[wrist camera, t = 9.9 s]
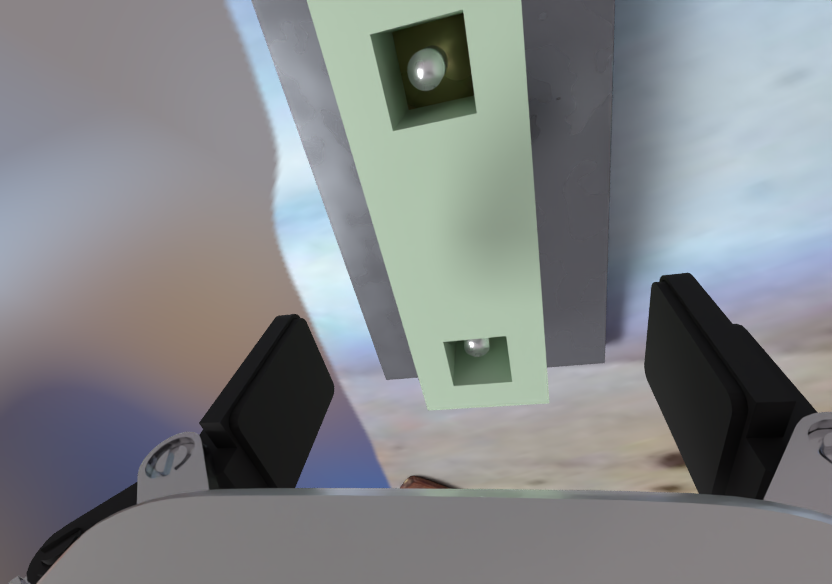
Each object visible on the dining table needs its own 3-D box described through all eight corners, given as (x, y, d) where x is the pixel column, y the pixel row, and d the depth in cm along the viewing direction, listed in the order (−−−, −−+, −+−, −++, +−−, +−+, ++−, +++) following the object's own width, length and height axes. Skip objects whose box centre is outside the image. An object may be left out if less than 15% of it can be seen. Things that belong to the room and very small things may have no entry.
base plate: (607, -193, 14) (683, -314, 9) (598, 346, 26) (627, 422, 21) (244, -65, 17) (148, -101, 12) (390, 364, 29) (372, 434, 24)
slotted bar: (505, -57, 14) (515, -82, 10) (538, 348, 23) (549, 403, 20) (339, -7, 15) (301, -16, 12) (434, 357, 24) (428, 410, 21)
